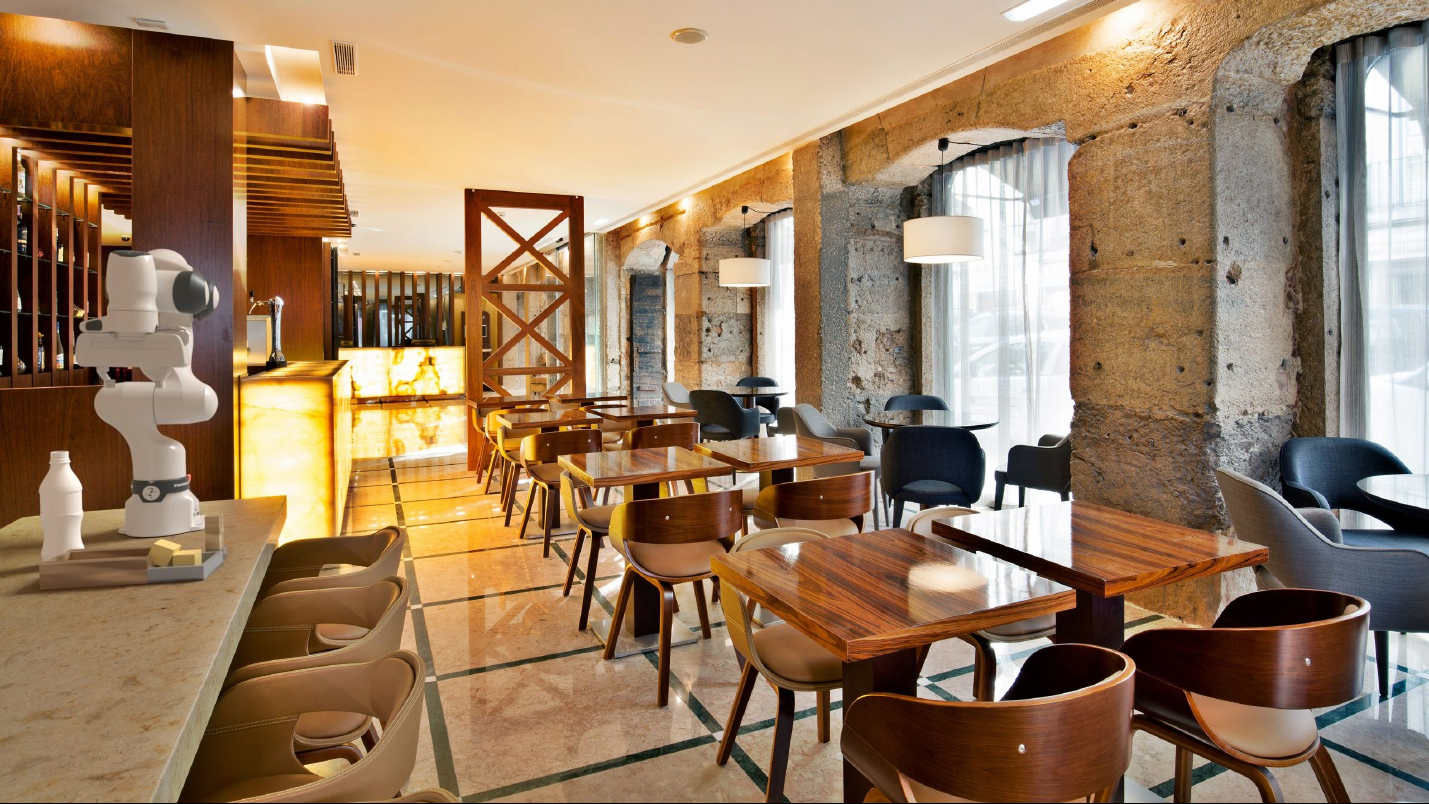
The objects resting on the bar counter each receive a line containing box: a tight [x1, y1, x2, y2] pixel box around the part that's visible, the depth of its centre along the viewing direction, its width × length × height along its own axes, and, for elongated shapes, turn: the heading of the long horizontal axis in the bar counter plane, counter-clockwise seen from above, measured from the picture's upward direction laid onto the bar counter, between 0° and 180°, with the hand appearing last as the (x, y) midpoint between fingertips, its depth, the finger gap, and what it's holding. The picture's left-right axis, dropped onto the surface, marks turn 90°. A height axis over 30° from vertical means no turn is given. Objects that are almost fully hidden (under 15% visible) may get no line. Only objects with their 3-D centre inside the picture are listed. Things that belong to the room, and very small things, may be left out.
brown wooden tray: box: [38, 545, 168, 591], centre depth 157 cm, size 12×18×5 cm, turn 107°
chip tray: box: [146, 551, 224, 584], centre depth 161 cm, size 12×10×3 cm
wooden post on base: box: [204, 513, 228, 561], centre depth 171 cm, size 6×3×10 cm, turn 17°
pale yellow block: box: [148, 538, 182, 567], centre depth 159 cm, size 4×4×4 cm
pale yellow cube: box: [173, 549, 203, 567], centre depth 161 cm, size 4×4×4 cm
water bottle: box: [38, 450, 85, 563], centre depth 165 cm, size 7×7×25 cm
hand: (135, 388), depth 165 cm, fingers open, 8 cm apart
